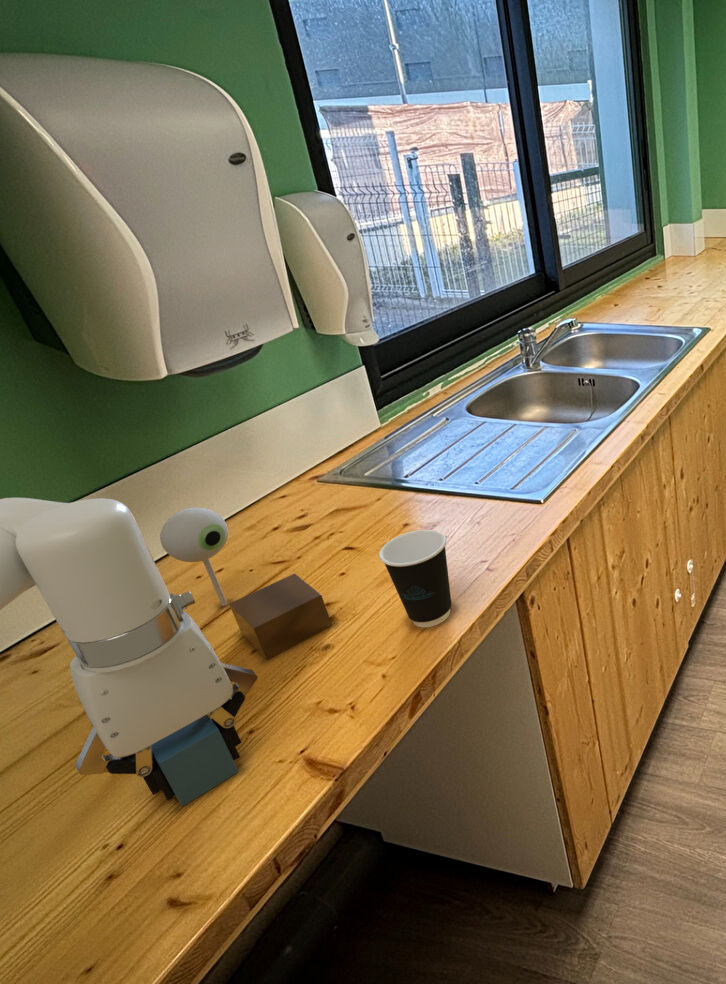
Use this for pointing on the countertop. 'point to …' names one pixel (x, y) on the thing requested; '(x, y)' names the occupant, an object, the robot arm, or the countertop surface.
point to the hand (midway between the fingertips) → (199, 770)
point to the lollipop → (196, 539)
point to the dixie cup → (420, 575)
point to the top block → (194, 759)
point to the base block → (280, 615)
